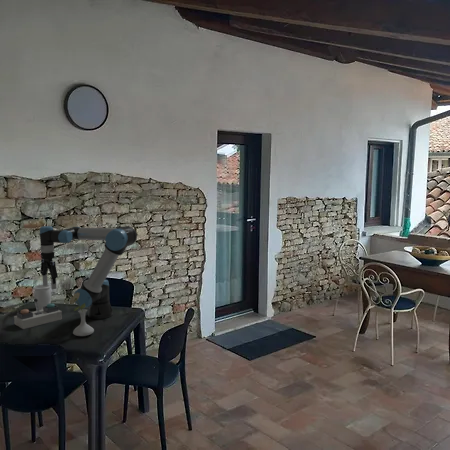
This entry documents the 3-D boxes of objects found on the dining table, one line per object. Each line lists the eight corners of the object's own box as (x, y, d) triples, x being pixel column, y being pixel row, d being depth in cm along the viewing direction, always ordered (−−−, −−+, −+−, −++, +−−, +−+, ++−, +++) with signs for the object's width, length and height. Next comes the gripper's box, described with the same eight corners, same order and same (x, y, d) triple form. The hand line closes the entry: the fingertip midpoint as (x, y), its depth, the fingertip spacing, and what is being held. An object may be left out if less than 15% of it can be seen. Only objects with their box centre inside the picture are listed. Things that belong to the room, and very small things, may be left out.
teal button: (55, 307, 290) (55, 304, 290) (49, 309, 287) (48, 305, 287) (52, 305, 293) (52, 302, 293) (45, 307, 290) (45, 304, 290)
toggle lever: (40, 310, 285) (37, 297, 286) (37, 311, 283) (34, 298, 284) (39, 311, 286) (36, 298, 287) (35, 312, 285) (32, 299, 285)
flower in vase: (86, 329, 272) (84, 287, 269) (98, 333, 265) (96, 290, 262) (66, 335, 262) (64, 292, 259) (78, 340, 255) (75, 295, 252)
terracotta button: (30, 313, 279) (30, 310, 279) (22, 315, 276) (22, 312, 275) (26, 311, 282) (26, 308, 282) (19, 313, 279) (19, 310, 278)
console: (62, 319, 290) (61, 307, 289) (23, 329, 273) (22, 316, 272) (52, 314, 298) (52, 303, 297) (14, 324, 281) (13, 312, 280)
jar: (46, 311, 305) (44, 288, 303) (31, 310, 307) (30, 288, 305) (55, 306, 315) (54, 284, 313) (41, 305, 317) (40, 283, 315)
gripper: (33, 250, 291) (35, 285, 294) (50, 255, 275) (52, 292, 278) (44, 248, 296) (46, 282, 299) (62, 253, 280) (64, 289, 283)
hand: (49, 287), depth 288 cm, fingers open, 10 cm apart
